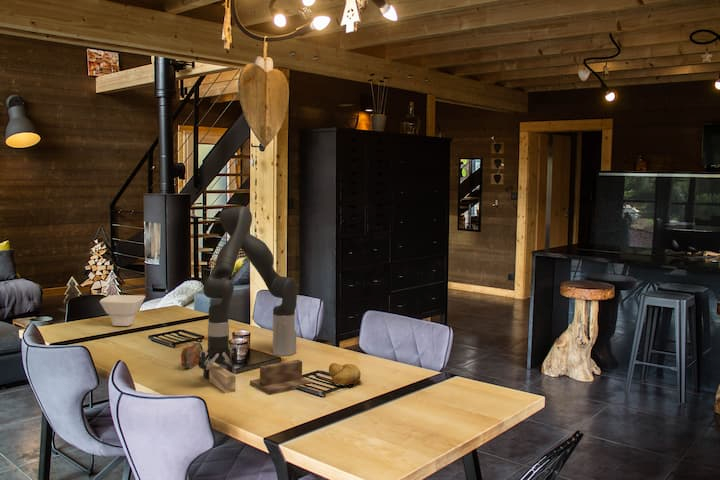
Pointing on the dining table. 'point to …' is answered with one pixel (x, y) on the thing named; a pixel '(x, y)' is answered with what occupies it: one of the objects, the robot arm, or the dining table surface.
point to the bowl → (122, 308)
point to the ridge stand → (280, 377)
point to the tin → (191, 355)
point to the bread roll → (344, 373)
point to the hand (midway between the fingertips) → (218, 377)
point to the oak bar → (222, 378)
